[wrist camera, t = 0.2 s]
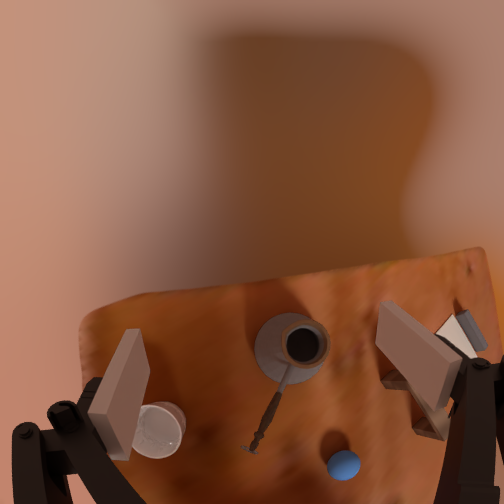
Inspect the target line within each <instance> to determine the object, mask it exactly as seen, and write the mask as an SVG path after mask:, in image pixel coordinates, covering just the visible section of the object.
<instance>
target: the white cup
mask: <svg viewBox="0 0 504 504" xmlns="http://www.w3.org/2000/svg"><path fill="white" fill-rule="evenodd" d="M185 429H186V418H185V415H184V412H183V411H182V410H181V409H180V408H179V407H178V406H177V405H175V404H173V403H170V402H168V401H166V402H154V403H150V404H146V405H142V406H141V410H140V414H139V418H138V422H137V426H136V431H135V435H134V439H133V444H132V447H133V448H134V449H135V450H136V451H137V452H138V453H140V454H142V455H144V456H146V457H149V458H155V459H160V458H165V457H168V456H170V455H172V454H173V453H174V452H175V451H176V450H177V449H178V447H179V446H180V443H181V441H182V438H183V436H184V432H185Z"/></svg>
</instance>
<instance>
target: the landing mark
mask: <svg viewBox="0 0 504 504" xmlns="http://www.w3.org/2000/svg"><path fill="white" fill-rule="evenodd" d="M436 334H438V335H440V336H443V337H445V338H446V339H447V340H449V341H450V342H451V343H452V344H454V345H455V347H457V348H459V349H460V350H461V351H462V352H464V353H465V354H466V355H467V356H468V357H470V358H477V355H476V353H475V352H474V350H473V348H472V346H471V344H470V343H469V341H468V339H467V337H466V336H465V334H464V332H463V331H462V329H461V327H460V326H459V324H458V322H457V321H456V319H455V317H454V316H453V314H452V315H451V316H450V317H449V319H448V320H447V321H446V322H445V323H444V324H443V326H442V327H441V328H440V329H439V330H438V331H437V332H436Z"/></svg>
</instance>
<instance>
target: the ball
mask: <svg viewBox="0 0 504 504" xmlns="http://www.w3.org/2000/svg"><path fill="white" fill-rule="evenodd" d="M359 469H360V459H359V457H358V456H357V455H356V454H355V453H354V452H351V451H347V450H344V451H339V452H337V453H335V454H334V455H333V456H332V457H331V458H330V459H329V461H328V464H327V470H328V473H329V474H330V476H331V477H333V478H334V479H337V480H348V479H350V478H352V477H354V476H355V475H356V474H357V472H358V471H359Z"/></svg>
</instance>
